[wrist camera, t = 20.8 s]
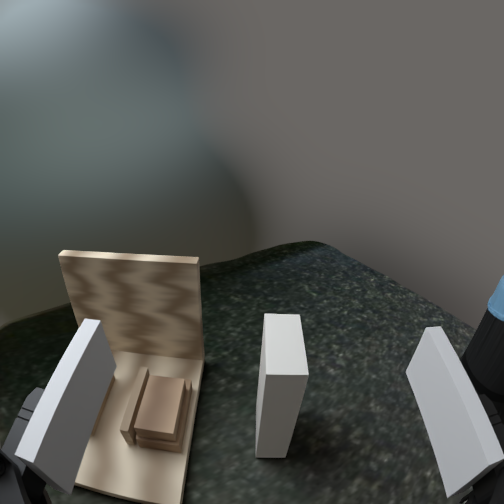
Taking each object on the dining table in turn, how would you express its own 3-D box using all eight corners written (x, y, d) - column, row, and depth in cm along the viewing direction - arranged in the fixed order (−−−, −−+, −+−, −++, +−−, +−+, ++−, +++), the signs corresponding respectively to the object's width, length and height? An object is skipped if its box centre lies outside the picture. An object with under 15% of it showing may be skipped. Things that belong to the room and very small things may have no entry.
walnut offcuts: (192, 389, 40) (189, 369, 38) (181, 453, 31) (176, 437, 29) (156, 384, 40) (151, 365, 38) (139, 446, 31) (131, 429, 29)
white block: (282, 406, 40) (299, 314, 32) (285, 457, 33) (308, 374, 25) (256, 406, 40) (264, 313, 32) (255, 457, 32) (265, 374, 25)
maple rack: (204, 359, 47) (198, 257, 38) (181, 510, 25) (145, 439, 17) (91, 345, 47) (63, 250, 38) (33, 469, 25) (-44, 377, 17)
